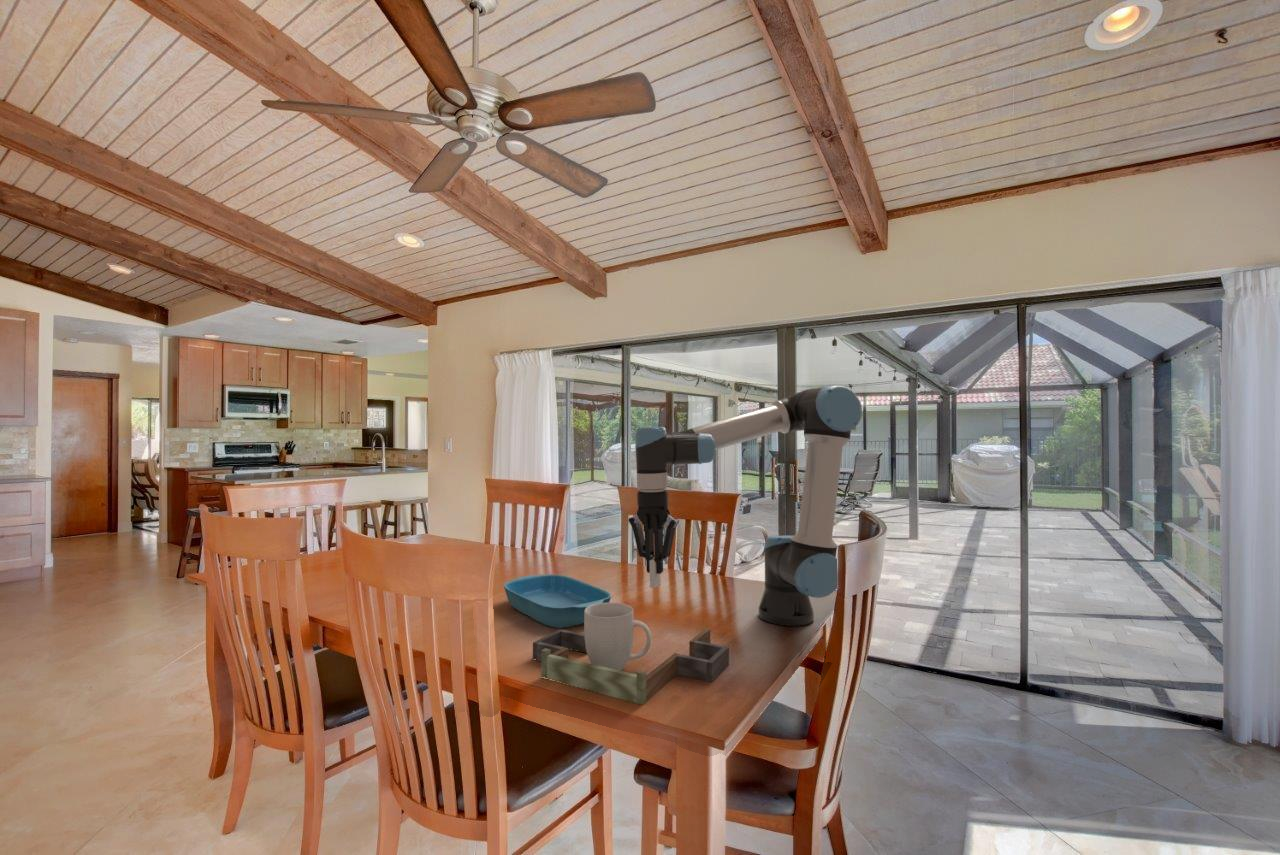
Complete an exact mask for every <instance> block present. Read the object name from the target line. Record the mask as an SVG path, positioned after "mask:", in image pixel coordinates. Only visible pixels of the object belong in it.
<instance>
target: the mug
mask: <svg viewBox="0 0 1280 855" xmlns="http://www.w3.org/2000/svg"><path fill="white" fill-rule="evenodd" d="M634 616H635V613H634V608H633V607H632V606H631V605H628V604H626V603H621V602H609V603H598V604H593V605H590V606H588V607H587V608H586V609H585V611H584V624H583V628H584V629H583V631H584V633H583V634H585V636H584V637H585V646H586V650H587V658H588V660H589V663H590V664H594V665H599V666H603V667H607V668H611V669H616V670H620V671H623V670H624V669H625V667H626V666H627V664H628V662H629V661H632V660H637V659H640V658H641V657H644V656H645V655H647V653H649V650H650V647H651V645H652V636H651V635H652V634H651V631H650V629H649V627H648V626H647V624H646V623H644V622H643V621H640V620H636V619H634V618H635V617H634ZM635 627H640V628H641V629H643V630H644V632H645V634H646V644H645V647H644V648H643V649H642V650H641V651H640V652H638V653H634V654H633V653H632V649H633V644H634V631H635V629H634V628H635Z"/></svg>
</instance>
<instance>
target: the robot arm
mask: <svg viewBox="0 0 1280 855" xmlns="http://www.w3.org/2000/svg"><path fill="white" fill-rule="evenodd" d="M862 415H863V408H862V404H861V401H860V399H859V397H858V396H857V394H856V393H855V391H853V390H852V389H850V388H849V387H846V386H843V385H827V386H821V387H814V388H808V389H804V390H801V391H799V392H797V393H794V394H792V395H790V396H789V395H788V396H787V397H783V398H781V399H777V400H774V401H773V402H772V405H770V406H766V407H762V408H759V409H756V410H751V411H749V412H744V413H740V414H737V415H733V416H731V417H727V418H723V419H719V420H717V421H712V422H709V423H705V424H701V425H699V426H695V427H691V428H690V429H685V430H681V431H677V432H670V433H667V428H665V427H664V426H647V427H643V426H642V427H638V428H637V430H636V431H635V446H634V447H635V456H636V457H635V460H636V462H635V463H636V488H637V490H638V491H637V493H636V497H637V498H636V499H637V511H636V514H634V516H632V517H629V518H628V523H629V525H630V526H631V528H632V532H633V536H634V539H635V544H636V548H637V552H638V555H639V558H640V557H641V558H644V559H645V560H646V572H647V573H649V587H650V588H653V589H656V588H658V587H661V574H662V573H663V572H664V560H665V559H667V558H669V557H670V556H671V553H672V547H673V542H674V537H675V536H674V535H675V532H676V527H677V526H678V525H679V522H680V521H679V519H678V518H674V517H673V516H672V515H671V512H670V510H669V492H668V490H667V488H668V466H670V465H672V466H673V465H693V464H694V465H695V464H697V465H698V464H699V465H702V464H709V463H711V462H712V461H713V460H714V458H715V454H716V451H717V450H720V449H723V448H727V447H731V446H734V445H738V444H740V443H744V442H748V441H752V440H755V439H759V438H762V437H766V436H769V435H772V434H776V433H779V432H780V433H782V434H785V435H786V434H789V433H793V432H798V431H799V432H801V431H803V436H804V438H805V439H806V440H807V442H808V444H807V453H806V461H805V471H804V477H803V484H802V485H803V486H802V494H801V503H800V511H799V512H800V513H799V517H798V518H799V519H798V528H797V532H796V534H794V535H771V536H768V537H766V538H765V541H764V542H765V543H764V548H763V549H764V590H763V594H762V596H761V600H760V602H759V605H758V617H759V619H761V620H762V619H763V620H762V621H764V620H765V621H764V622H766V621H767V622H766V623H769V622H770V624H772V623H774V624H773V625H777V624H779V625H780V626H784V625H786V627H799V626H800V625H801V626H806V625H809V624H811V622H812V621H813V620H815V619H814V618H815V614H814V613H815V612H814V608H813V605H812V602H811V599H810V597H811V598H816V599H821V598H826V597H828V596H830V595H831V594H832V593H834V592H835V591H837V589H838V588H837V559H838V558H837V552H838V544H837V543H836V542H835V540H834V539H833V532H834V531H833V530H834V523H835V514H836V505H837V497H838V490H839V481H840V473H841V472H840V471H841V465H842V458H843V448H844V446H845V445H846V444H847V443H849V442H850V441H851V435H852V434H851V433H852V430H853V429H855V427H856V426H857V425H859V423H860V422H861V418H862ZM666 522H667V523H666ZM641 524H642V525H641ZM665 525H667V527H666V530H665V536H664V529H665V528H664V526H665ZM642 526H643V527H642ZM813 622H814V621H813ZM813 622H812V623H813ZM779 625H778V626H779Z"/></svg>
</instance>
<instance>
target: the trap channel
mask: <svg viewBox="0 0 1280 855" xmlns="http://www.w3.org/2000/svg"><path fill="white" fill-rule="evenodd" d="M584 636H585V634H584V633H581V632H576V631H571V630H567V629H566V630H565V629H563V628H558V629H557V630H555V631H553V632H552V633H551V632H550V633H549V634H547V635H545V636H543V637H542V638H540V639H537V640H535V641H534V642H532V660H533V659H536V660H540V661H541V662H540V664H541V665H540V666H541V667H540V668H541V669H540V670H541V671H540V672H541V673H540V676H541V677H545V678H548V679H552V680H555V681H559V682H562V683H565V684H568V685H567V686H569V685H572V686H571V687H573V686H575V687H574V688H577V687H579V688H578V689H580V688H583V689H582V690H584V689H586V691H588V690H590V691H589V692H592V691H593V693H596V692H597V693H596V694H600V693H601V694H600V695H603V694H604V696H607V697H612V698H616V699H620V700H623V701H627V702H632V703H635V704H637V705H641V706H643V705H645V704H646V703H647V702H648V701H649V700H650V699H651V698H652V697H653V696H654V695H655V694H657V693H658V692H659V691H660V690H661V689H663V687H664V686H666V685H667V684H668V683H669V682H670V681H672V679H674V678H675V677H676V676H677V675H679V676H683V677H688V678H692V679H696V680H702V681H705V682H708V683H709V682H710V683H712V682H714V681H715V680H716V678H718V677H719V675H720V674H722V672H724V671H725V669H726V668H727V667H728V666H729V665H730V647H729V646H727V645H721V644H716V643H711V629H710V628H704V629H702V630H701V631H700V632H699V633H698V634H697V635H695V636H694V637H693V638H692V639H691V640H689V642H688V643H689V644H688V645H689V646H688V649H689V654H688V655H686V654H681V653H677V652H673V654H671V655H670V656H669V657H668V658H666V659H665V660H664V661H663V662H662V663H660V664H659V665H658V666H656V667H655V668H653V669H652V670H651V671H650V672H649V673H647V671H646V670H642V669H639V670H638V671H637V672H636V673H632V672H628V671H623V670H622V671H620V670H616V669H611V668H607V667H603V666H599V665H594V664H591V663H590V662H585V661H582V660H577V659H572V658H569V656H570V655H569V651H570V650H569V649H572V650H571V651H573V650H578V651H582V652H586V653H587V650H586V646H585V637H584ZM582 652H581V653H582ZM586 653H585V654H586ZM565 684H564V685H565Z"/></svg>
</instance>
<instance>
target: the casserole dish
mask: <svg viewBox="0 0 1280 855" xmlns="http://www.w3.org/2000/svg"><path fill="white" fill-rule="evenodd" d="M503 587H504V588H503V589H504V592H505V595H506V597H507V600H508V602H509V605H511V607H513V608H514V609H515V610H517V611H519V612H520V613H522V614H524V615H525V614H526V615H525V616H527V615H528V617H529V616H530V617H529V618H531V619H533V620H535V621H537V622H539V623H541V624H543V625H545V626H547V625H548V627H550V626H551V628H553V627H558V628H557V629H563V628H562V627H568V628H571V627H570V626H572V627H575V626H574V625H577V626H579V625H578V624H580V625H583V624H582V623H584V611H585V609H586V608H587V607H588V606H590V605H593V604H598V603H610V601H611V598H612V594H611V593H610V592H609V591H607V590H605V589H603V588H600V587H598V586H596V585H592V584H590V583H588V582H585V581H582V580H579V579H576V578H575V577H571V576H568V575H564V574H555V573H554V574H535V575H533V574H531V575H525V576H520V577H517V578H514V579H512V580H509V581H507V582H505V583H504V584H503Z"/></svg>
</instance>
